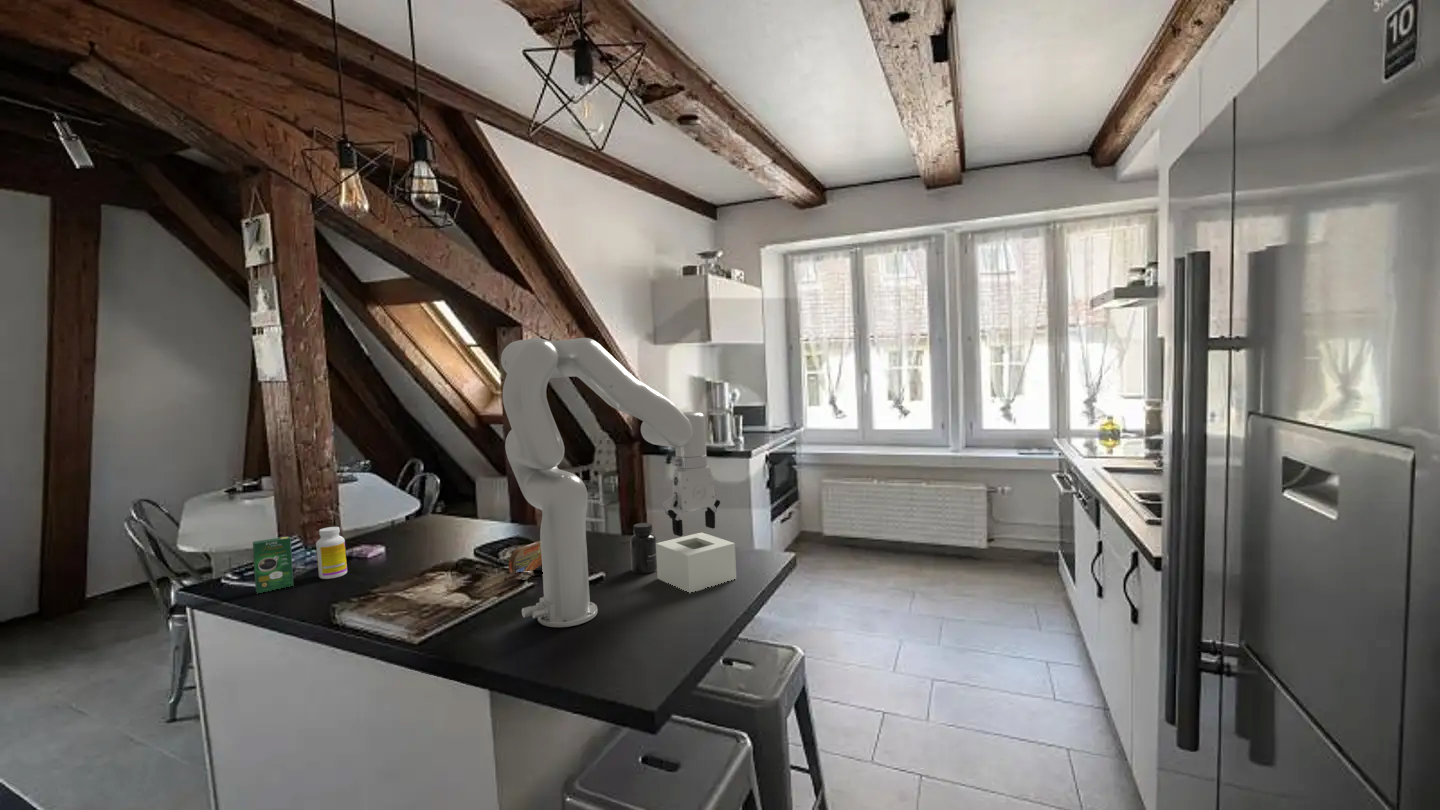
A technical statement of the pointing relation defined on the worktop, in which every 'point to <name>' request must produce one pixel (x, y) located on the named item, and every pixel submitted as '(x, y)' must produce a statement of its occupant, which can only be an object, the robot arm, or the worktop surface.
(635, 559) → the supplement bottle
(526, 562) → the tin
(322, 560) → the supplement bottle
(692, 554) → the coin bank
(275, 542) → the coffee box
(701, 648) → the worktop surface
